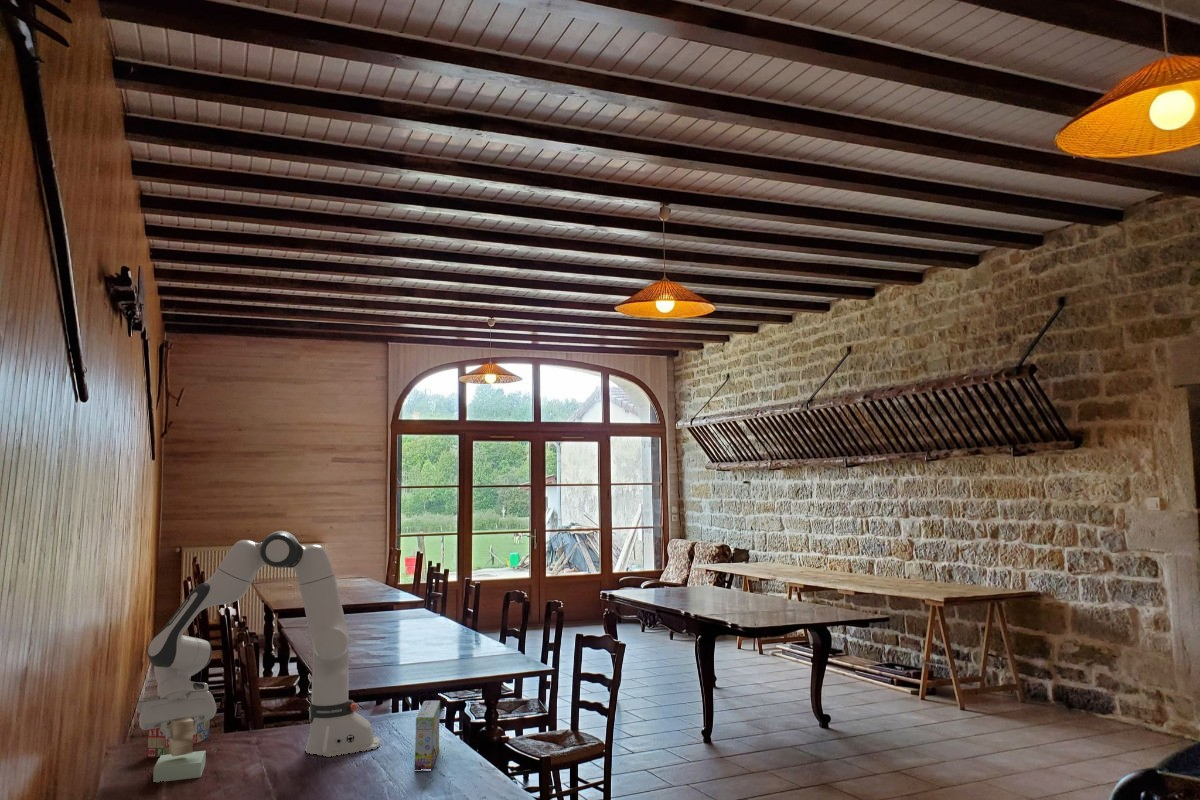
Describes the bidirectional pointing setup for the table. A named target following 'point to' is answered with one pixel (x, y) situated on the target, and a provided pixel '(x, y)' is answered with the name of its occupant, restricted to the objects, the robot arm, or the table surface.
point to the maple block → (181, 737)
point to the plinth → (179, 766)
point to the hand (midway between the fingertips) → (181, 735)
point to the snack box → (427, 735)
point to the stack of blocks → (161, 745)
